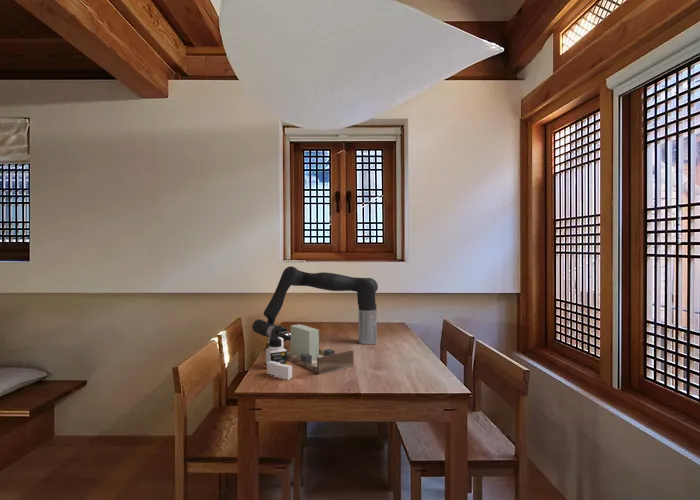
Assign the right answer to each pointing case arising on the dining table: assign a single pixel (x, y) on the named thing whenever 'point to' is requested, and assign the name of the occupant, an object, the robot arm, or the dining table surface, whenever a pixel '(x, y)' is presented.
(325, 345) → the dining table surface
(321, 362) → the tray
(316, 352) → the block
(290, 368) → the white rectangular block
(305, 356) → the trap posts
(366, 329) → the robot arm
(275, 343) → the medicine bottle
